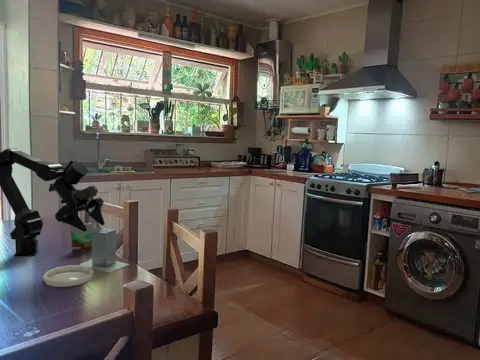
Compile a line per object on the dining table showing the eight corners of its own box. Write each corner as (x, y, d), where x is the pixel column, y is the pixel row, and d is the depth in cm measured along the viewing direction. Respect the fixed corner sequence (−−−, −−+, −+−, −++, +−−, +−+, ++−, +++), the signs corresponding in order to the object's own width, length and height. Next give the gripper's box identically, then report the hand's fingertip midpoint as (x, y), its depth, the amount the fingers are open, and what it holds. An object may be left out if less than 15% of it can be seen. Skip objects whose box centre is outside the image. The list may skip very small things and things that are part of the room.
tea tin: (105, 268, 131) (105, 233, 129) (92, 265, 132) (91, 231, 131) (115, 262, 136) (115, 229, 134) (102, 260, 137) (102, 227, 136)
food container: (84, 253, 147) (84, 227, 145) (70, 252, 148) (69, 226, 146) (102, 244, 159) (102, 220, 157) (88, 243, 160) (88, 219, 158)
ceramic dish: (37, 288, 114) (37, 282, 114) (52, 271, 128) (52, 265, 128) (87, 287, 116) (87, 281, 116) (97, 270, 130) (97, 264, 130)
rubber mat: (79, 266, 133) (79, 264, 133) (98, 259, 141) (98, 257, 141) (110, 274, 127) (110, 272, 127) (129, 266, 135) (129, 264, 135)
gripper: (61, 181, 124) (90, 219, 122) (99, 175, 142) (125, 208, 140) (42, 203, 127) (70, 240, 126) (81, 194, 145) (106, 227, 143)
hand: (95, 227), depth 133 cm, fingers open, 9 cm apart
